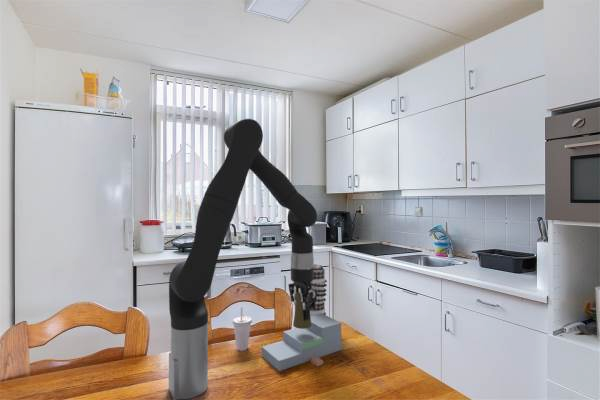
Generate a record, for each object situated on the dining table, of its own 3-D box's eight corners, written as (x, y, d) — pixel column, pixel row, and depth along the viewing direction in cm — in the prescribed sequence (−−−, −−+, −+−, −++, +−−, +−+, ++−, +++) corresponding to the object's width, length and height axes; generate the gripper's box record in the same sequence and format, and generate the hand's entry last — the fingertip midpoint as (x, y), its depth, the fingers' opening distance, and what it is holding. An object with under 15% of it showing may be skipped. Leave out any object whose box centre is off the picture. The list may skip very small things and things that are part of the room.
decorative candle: (330, 334, 117) (330, 267, 118) (306, 336, 115) (306, 268, 115) (322, 325, 126) (322, 262, 126) (300, 327, 124) (300, 263, 124)
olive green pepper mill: (312, 321, 106) (312, 289, 106) (311, 329, 100) (310, 294, 100) (294, 321, 106) (294, 288, 106) (292, 328, 100) (292, 293, 100)
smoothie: (228, 351, 104) (229, 308, 104) (238, 342, 110) (238, 302, 110) (246, 353, 102) (246, 310, 102) (254, 345, 108) (255, 304, 108)
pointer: (316, 366, 94) (316, 363, 94) (308, 360, 98) (308, 357, 98) (323, 364, 96) (323, 360, 96) (314, 358, 99) (314, 355, 99)
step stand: (279, 371, 91) (279, 340, 91) (261, 355, 101) (261, 327, 101) (341, 350, 105) (341, 323, 105) (321, 338, 114) (321, 313, 114)
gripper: (281, 263, 107) (281, 314, 107) (305, 271, 95) (305, 328, 95) (299, 261, 111) (299, 310, 111) (324, 268, 99) (324, 322, 99)
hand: (302, 318), depth 103 cm, fingers closed on olive green pepper mill, 4 cm apart
